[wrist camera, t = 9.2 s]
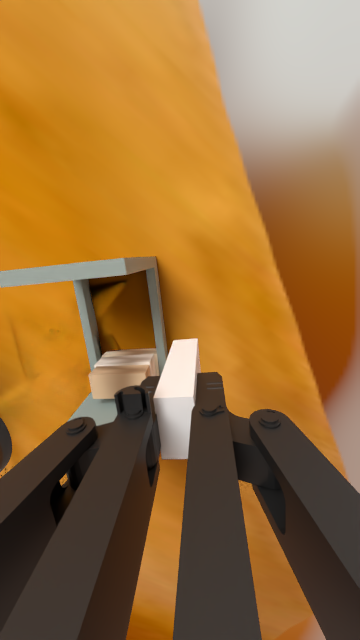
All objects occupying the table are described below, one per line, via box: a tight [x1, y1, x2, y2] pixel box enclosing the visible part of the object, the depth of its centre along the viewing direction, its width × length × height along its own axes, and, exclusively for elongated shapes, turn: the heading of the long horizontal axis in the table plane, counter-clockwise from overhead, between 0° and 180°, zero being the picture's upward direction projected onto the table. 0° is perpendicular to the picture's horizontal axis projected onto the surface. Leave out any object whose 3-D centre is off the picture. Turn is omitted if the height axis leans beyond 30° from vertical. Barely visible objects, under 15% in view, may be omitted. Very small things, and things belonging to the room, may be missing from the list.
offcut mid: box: [94, 354, 157, 376], centre depth 31 cm, size 7×3×2 cm, turn 96°
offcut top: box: [89, 365, 151, 399], centre depth 29 cm, size 6×3×2 cm, turn 94°
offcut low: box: [102, 348, 160, 376], centre depth 34 cm, size 7×3×2 cm, turn 94°
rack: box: [0, 257, 168, 426], centre depth 27 cm, size 10×17×13 cm, turn 6°
